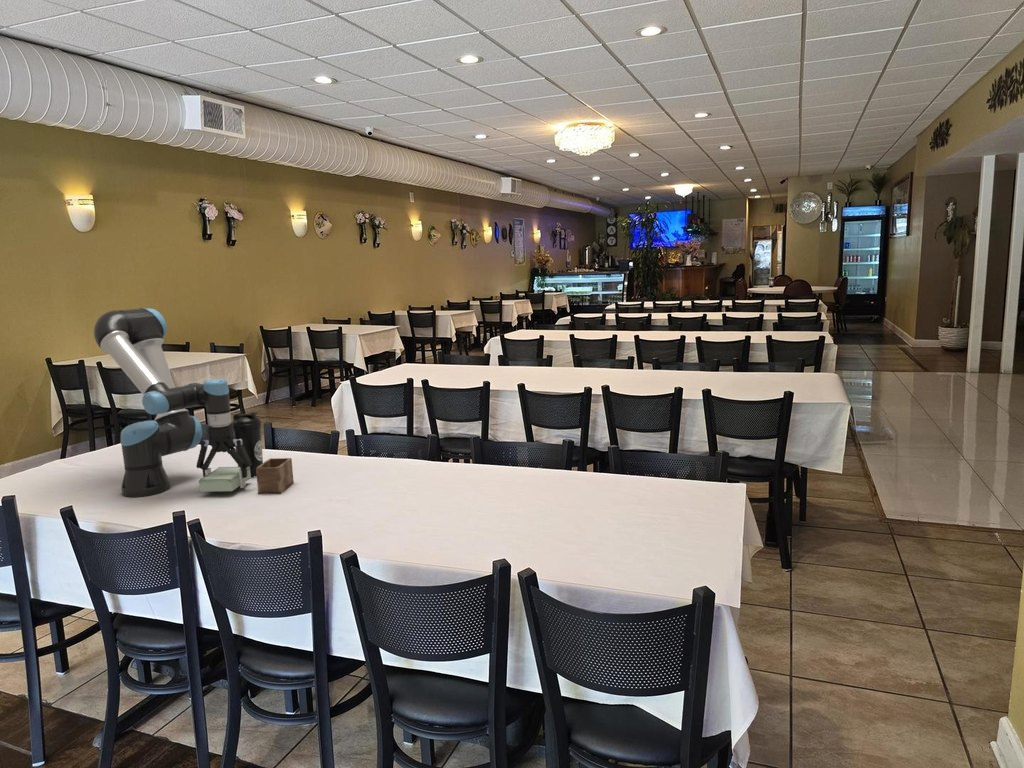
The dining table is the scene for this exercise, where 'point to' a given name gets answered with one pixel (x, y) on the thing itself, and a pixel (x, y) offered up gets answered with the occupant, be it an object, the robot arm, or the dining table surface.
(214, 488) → the lid
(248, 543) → the dining table surface
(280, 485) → the box
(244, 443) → the water bottle
